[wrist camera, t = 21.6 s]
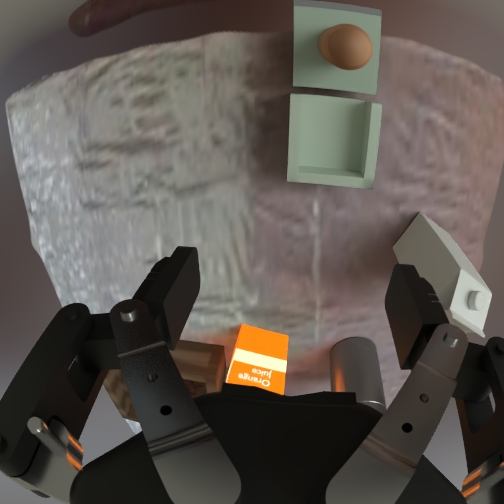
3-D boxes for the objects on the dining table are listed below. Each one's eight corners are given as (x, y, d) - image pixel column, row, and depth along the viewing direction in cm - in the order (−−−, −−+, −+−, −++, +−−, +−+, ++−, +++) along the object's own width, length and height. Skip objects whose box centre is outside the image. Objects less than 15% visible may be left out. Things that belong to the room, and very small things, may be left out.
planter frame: (230, 415, 74) (224, 440, 67) (132, 395, 77) (122, 417, 70) (224, 346, 59) (215, 377, 52) (101, 324, 62) (85, 350, 56)
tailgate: (376, 95, 30) (381, 10, 24) (292, 86, 31) (293, -1, 25) (373, 93, 31) (379, 10, 25) (292, 84, 32) (294, 0, 26)
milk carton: (422, 267, 45) (463, 357, 29) (391, 247, 44) (428, 339, 28) (449, 234, 41) (506, 315, 25) (419, 210, 40) (476, 291, 24)
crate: (362, 174, 39) (372, 189, 34) (288, 167, 40) (286, 181, 35) (370, 100, 34) (382, 104, 29) (291, 92, 35) (290, 94, 30)
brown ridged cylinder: (359, 29, 26) (376, 27, 20) (358, 66, 29) (374, 75, 22) (317, 24, 26) (323, 20, 20) (317, 62, 29) (322, 68, 23)
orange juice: (276, 360, 60) (265, 450, 43) (233, 349, 59) (211, 438, 42) (289, 335, 55) (280, 432, 38) (241, 322, 55) (218, 419, 38)
